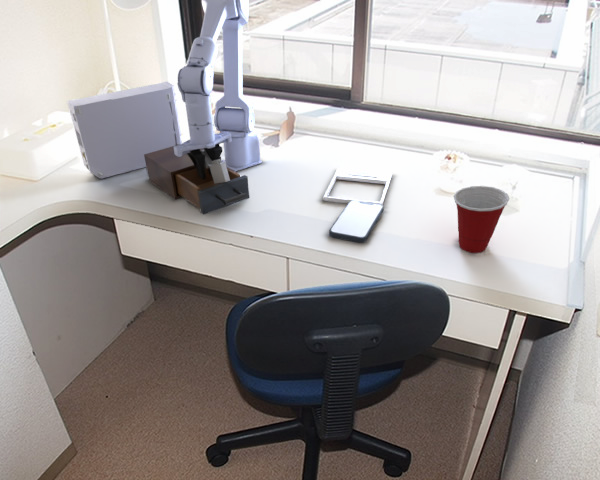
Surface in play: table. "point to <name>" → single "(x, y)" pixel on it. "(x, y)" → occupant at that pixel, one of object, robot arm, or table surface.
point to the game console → (125, 127)
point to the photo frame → (362, 177)
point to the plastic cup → (478, 215)
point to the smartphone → (356, 221)
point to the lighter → (216, 169)
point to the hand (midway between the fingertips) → (207, 176)
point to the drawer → (211, 189)
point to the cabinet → (167, 169)
